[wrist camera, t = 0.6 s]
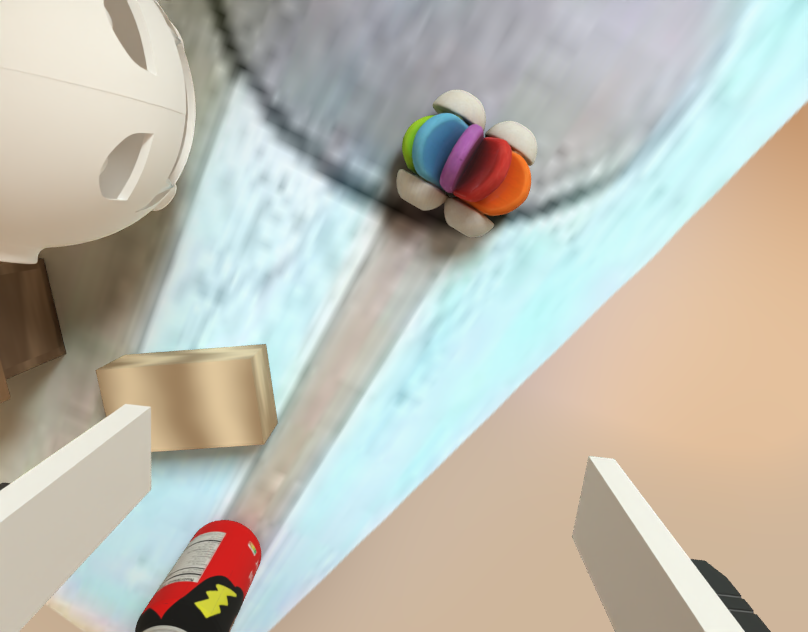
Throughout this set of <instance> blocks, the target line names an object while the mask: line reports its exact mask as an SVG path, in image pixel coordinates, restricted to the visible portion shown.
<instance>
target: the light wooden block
mask: <svg viewBox="0 0 808 632" xmlns="http://www.w3.org/2000/svg"><path fill="white" fill-rule="evenodd" d="M96 374H97V378H98V383H99V387H100V392H101V396H102V401H103V405H104V409H105V414H106V417H107V416H109V415H110V414H112V413H113V412H115V411H116V410H117V409H119V408H120V407H122V406H123V405H125V404H131V405H140V406H149V407H151V452H158V451H173V450H188V449H203V448H218V447H233V446H248V445H263V444H265V442H266V440H267V439H268V437H269V436H270V434H271V433H272V431H273V429H274V428H275V426H276V425H277V423H278V421H277V415H276V408H275V401H274V394H273V388H272V381H271V374H270V368H269V361H268V354H267V347H266V344H262V345H248V346H235V347H222V348H209V349H196V350H183V351H169V352H156V353H143V354H130V355H124V356H122V357H120V358H118V359H116V360H114V361H112V362H110V363H109V364H107V365H105V366H103V367H101V368H99V369H97V370H96Z"/></svg>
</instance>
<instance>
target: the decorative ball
mask: <svg viewBox="0 0 808 632" xmlns="http://www.w3.org/2000/svg"><path fill="white" fill-rule="evenodd" d="M195 121H196V105H195V93H194V86H193V80H192V75H191V71H190V67H189V64H188V61H187V57H186V54H185V52H184V44H183V41H182V38H181V36H180V34H179V32H178V30H177V28H176V27H175V26H174V25H173V23H172V22H170V20H169V19H168V17H167V15H166V13H165V12H164V10H163V9H162V7H161V6H160V5H159V3H158V2H157V0H0V261H1V262H10V263H22V264H36V263H37V262H38V254H39V252H40V251H41V250H43V249H44V248H49V247H62V246H69V245H76V244H82V243H86V242H90V241H94V240H97V239H100V238H103V237H106V236H109V235H112V234H114V233H116V232H118V231H120V230H122V229H124V228H126V227H128V226H130V225H132V224H133V223H135V222H137V221H138V220H140V219H141V218H142V217H144V216H145V215H146V214H148V213H149V212H150V211H151V210H152V211H158V210H161V209H163V208H164V207H166V206H167V205H168V204H169V203H170V202H171V200H172V199H173V197H174V196H175V194H176V190H177V186H176V184H175V183H176V181H177V180H178V178H179V177H180V175H181V173H182V171H183V169H184V167H185V164H186V162H187V159H188V156H189V153H190V150H191V146H192V141H193V136H194V129H195Z"/></svg>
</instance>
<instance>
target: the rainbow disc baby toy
mask: <svg viewBox="0 0 808 632" xmlns="http://www.w3.org/2000/svg"><path fill="white" fill-rule="evenodd" d="M433 108H434V109H435V111H436V112H437V113H438V115H431V116H426V117H423V118H421V119H419V120H417V121H416V122H414V123H413V124H412V125H411V126H410V127H409V128H408V130H407V132H406V133H405V135H404V138H403V143H402V151H403V156H404V160H405V162H406V164H407V168H408V169H409V170H410V171H411V172H412V173H413V174H411V173H409V172H407V171H405V170H402V169H400V170H399V171H398V175H397V189H398V193H399V195H400V197H401V198H402V199H404V200H405V201H407V202H409V203H410V204H412V205H414V206H416V207H417V208H419V209H421V210H431V209H434V208H436V207H438V206H440V205H441V204H443V203H445V206H444V214H445V219H446V222H447V224H448V225H449V226H451V227H453V228H454V229H456V230H457V231H459V232H461V233H462V234H464V235H466V236H467V237H470V238H474V237H479V236H482V235H484V234H486V233H487V232H489V231H490V230H491V229H492V228H493V227H494V223H493V222H492V221H491V220H489V219H488V218H487V217H486V216H485V215H489V216H497V215H503V214H507V213H509V212H511V211H513V210H514V209H516V208H517V207H519V206H520V205H521V204H522V203H523V202H524V201H525V200H526V199H527V197H528V194H529V191H530V187H531V173H530V169H529V167H528V165H529V166H531V165H532V164H533V163H534V162H535V159H536V155H537V143H536V139H535V137H534V135H533V133H532V132H531V131H530V130H529V129H527V128H526V127H525V126H523V125H521V124H519V123H517V122H514V121H505V122H501V123H498V124H496V125H494V126H493V127H492V128H490V129H489V130H488V131H487V132H486V133H485V137H486V138H484V134H483V131H484V129H485V123H486V116H485V111H484V108H483V105H482V104H481V102H480V101H479V100H478V99H477V98H476V97H474V96H473V95H471V94H470V93H468V92H466V91H463V90H451V91H448V92H446V93H444V94H442V95H441V96H440V97H438V98H437V99H436V101H435V102H434V103H433ZM445 191H446V192H448V193H453V194H454V195H455V196H456V197H453V198H451V197H449V196H447V195H446V194H445Z"/></svg>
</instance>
